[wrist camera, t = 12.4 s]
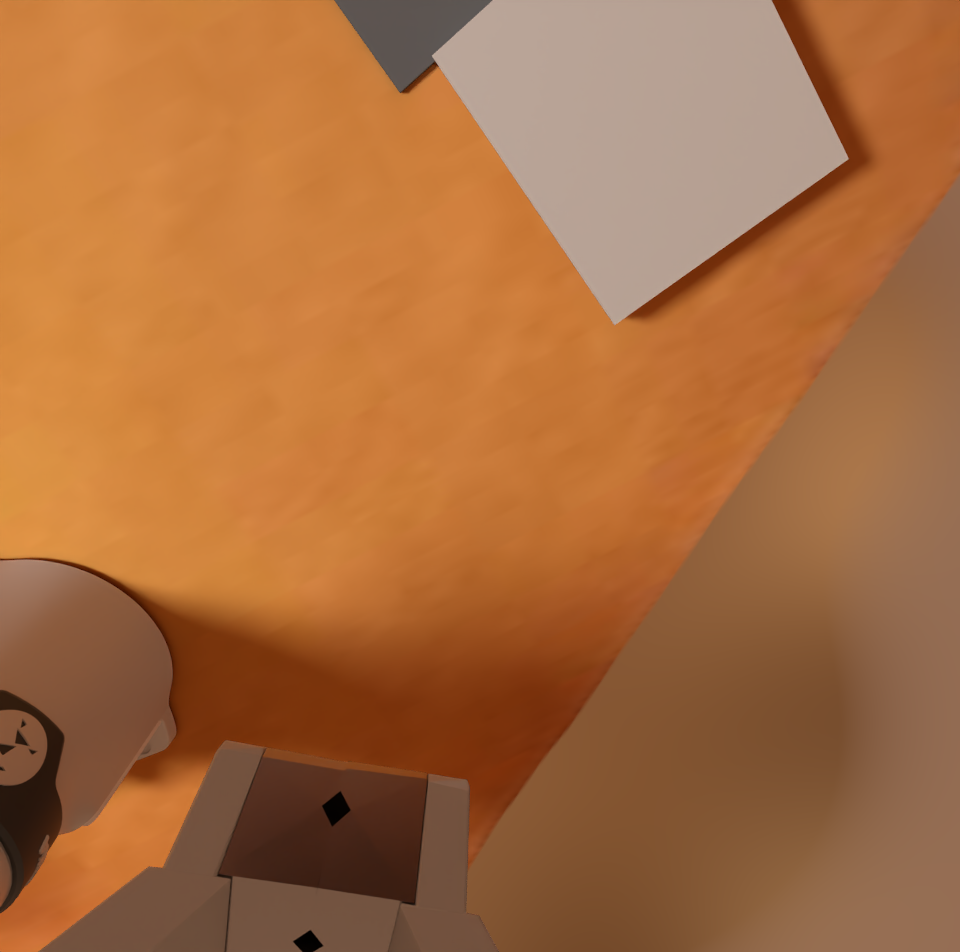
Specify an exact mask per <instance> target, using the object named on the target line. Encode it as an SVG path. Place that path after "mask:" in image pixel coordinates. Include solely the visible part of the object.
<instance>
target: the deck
mask: <svg viewBox="0 0 960 952" xmlns="http://www.w3.org/2000/svg"><path fill="white" fill-rule="evenodd" d="M432 57H433V58H434V60H435V62H436V63H437V65H438V66H439V68H440V69H441V71H442V72H443V73H444V75H445V76H446V78H447V79H448V81H449V82H450V84H451V85H452V87H453V88H454V90H455V91H456V93H457V94H458V96H459V97H460V99H461V100H462V101H463V103H464V104H465V106H466V107H467V109H468V110H469V112H470V113H471V115H472V116H473V118H474V119H475V121H476V122H477V124H478V125H479V127H480V128H481V129H482V131H483V132H484V134H485V135H486V137H487V138H488V140H489V141H490V143H491V144H492V146H493V147H494V149H495V150H496V152H497V153H498V154H499V156H500V157H501V159H502V160H503V162H504V163H505V165H506V166H507V168H508V169H509V171H510V172H511V174H512V175H513V177H514V178H515V180H516V181H517V182H518V184H519V185H520V187H521V188H522V190H523V191H524V193H525V194H526V196H527V197H528V199H529V200H530V202H531V203H532V205H533V206H534V208H535V209H536V210H537V212H538V213H539V215H540V216H541V218H542V219H543V221H544V222H545V224H546V225H547V227H548V228H549V230H550V231H551V233H552V234H553V236H554V237H555V238H556V240H557V241H558V243H559V244H560V246H561V247H562V249H563V250H564V252H565V253H566V255H567V256H568V258H569V259H570V261H571V262H572V264H573V265H574V266H575V268H576V269H577V271H578V272H579V274H580V275H581V277H582V278H583V280H584V281H585V283H586V284H587V286H588V287H589V289H590V290H591V291H592V293H593V294H594V296H595V297H596V299H597V300H598V302H599V303H600V305H601V306H602V308H603V309H604V311H605V312H606V314H607V315H608V317H609V318H610V319H611V321H612V322H613V324H614V325H615V324H617V323H618V322H620V321H621V320H622V319H624V318H625V317H627V316H628V315H630V314H631V313H632V312H634V311H635V310H637V309H638V308H639V307H641V306H642V305H644V304H645V303H646V302H648V301H649V300H651V299H652V298H653V297H655V296H656V295H658V294H659V293H661V292H662V291H663V290H665V289H666V288H668V287H669V286H670V285H672V284H673V283H675V282H676V281H677V280H679V279H680V278H682V277H683V276H685V275H686V274H687V273H689V272H690V271H692V270H693V269H694V268H696V267H697V266H699V265H700V264H701V263H703V262H704V261H706V260H707V259H708V258H710V257H711V256H713V255H714V254H716V253H717V252H718V251H720V250H721V249H723V248H724V247H725V246H727V245H728V244H730V243H731V242H732V241H734V240H735V239H737V238H738V237H740V236H741V235H742V234H744V233H745V232H747V231H748V230H749V229H751V228H752V227H754V226H755V225H756V224H758V223H759V222H761V221H762V220H763V219H765V218H766V217H768V216H769V215H771V214H772V213H773V212H775V211H776V210H778V209H779V208H780V207H782V206H783V205H785V204H786V203H787V202H789V201H790V200H792V199H793V198H794V197H796V196H797V195H799V194H800V193H802V192H803V191H804V190H806V189H807V188H809V187H810V186H811V185H813V184H814V183H816V182H817V181H818V180H820V179H821V178H823V177H824V176H826V175H827V174H828V173H830V172H831V171H833V170H834V169H835V168H837V167H838V166H840V165H841V164H842V163H844V162H845V161H847V160H848V159H849V158H848V156H847V154H846V152H845V150H844V148H843V146H842V144H841V142H840V140H839V138H838V136H837V133H836V131H835V129H834V127H833V125H832V123H831V121H830V119H829V117H828V115H827V113H826V111H825V109H824V107H823V105H822V103H821V101H820V99H819V97H818V94H817V92H816V90H815V88H814V86H813V84H812V82H811V80H810V78H809V76H808V74H807V72H806V70H805V68H804V66H803V64H802V62H801V60H800V58H799V55H798V53H797V51H796V49H795V47H794V45H793V43H792V41H791V39H790V37H789V35H788V33H787V31H786V29H785V27H784V25H783V23H782V21H781V19H780V16H779V14H778V12H777V10H776V8H775V6H774V4H773V2H772V0H493V1H491V2H490V3H489V4H488V5H487V6H486V7H485V8H484V9H483V10H482V11H480V12H479V13H478V14H477V15H476V16H475V17H474V18H473V19H472V20H471V21H469V22H468V23H467V24H466V25H465V26H464V27H463V28H462V29H461V30H460V31H459V32H457V33H456V34H455V35H454V36H453V37H452V38H451V39H450V40H449V41H448V42H446V43H445V44H444V45H443V46H442V47H441V48H440V49H439V50H438V51H437V52H435V53H434V54H433V55H432Z"/></svg>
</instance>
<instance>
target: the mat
mask: <svg viewBox="0 0 960 952" xmlns="http://www.w3.org/2000/svg"><path fill="white" fill-rule="evenodd" d="M491 1H493V0H335V2H336V3H337V5H338V6H339V7H340V9H341V10H342V12H343V13H344V14H345V16H346V17H347V19H348V20H349V21H350V23H351V24H352V26H353V27H354V29H355V30H356V31H357V33H358V34H359V36H360V37H361V38H362V40H363V41H364V43H365V44H366V45H367V47H368V48H369V50H370V51H371V52H372V54H373V55H374V57H375V58H376V60H377V61H378V62H379V64H380V65H381V67H382V68H383V69H384V71H385V72H386V74H387V75H388V76H389V78H390V79H391V81H392V82H393V84H394V85H395V86H396V88H397V89H398V91H399V92H400V93H401V92H402V91H403V90H405V89H406V88H407V87H408V86H409V85H410V84H411V83H412V82H413V81H414V80H416V79H417V78H418V77H419V76H420V75H421V74H422V73H423V72H424V71H425V70H427V69H428V68H429V67H430V66H431V65H432V64H433V63H434V62H435V60H434V58H433V57H432V55H433V54H434V53H435V52H437V51H438V50H439V49H440V48H441V47H442V46H443V45H444V44H445V43H446V42H448V41H449V40H450V39H451V38H452V37H453V36H454V35H455V34H456V33H457V32H459V31H460V30H461V29H462V28H463V27H464V26H465V25H466V24H467V23H468V22H469V21H471V20H472V19H473V18H474V17H475V16H476V15H477V14H478V13H479V12H480V11H482V10H483V9H484V8H485V7H486V6H487V5H488V4H489V3H490V2H491Z"/></svg>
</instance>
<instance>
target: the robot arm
mask: <svg viewBox="0 0 960 952" xmlns="http://www.w3.org/2000/svg"><path fill="white" fill-rule="evenodd" d="M172 678H173V668H172V660H171V656H170V652H169V649H168V646H167V644H166V642H165V639H164V637H163V635H162V634H161V632H160V630H159V629H158V627H157V626H156V624H155V623H154V622H153V620H152V619H151V618H150V616H149V615H148V614H147V613H146V612H145V611H144V610H143V609H142V608H141V607H140V606H139V605H138V604H137V603H136V602H135V601H134V600H133V599H131V598H130V597H129V596H128V595H126V594H125V593H124V592H122V591H121V590H120V589H118V588H116V587H115V586H113V585H112V584H110V583H108V582H107V581H105V580H103V579H101V578H99V577H97V576H95V575H93V574H90V573H88V572H86V571H83V570H80V569H78V568H74V567H71V566H68V565H64V564H60V563H55V562H50V561H42V560H4V561H3V560H0V913H2V912H3V911H4V910H6V909H7V908H8V907H9V906H10V905H11V904H12V903H13V902H14V901H15V899H16V898H17V897H18V895H19V894H20V892H21V891H22V889H23V888H24V887H25V886H26V885H27V884H28V883H29V882H30V881H31V880H32V879H33V877H34V876H35V874H36V873H37V871H38V870H39V868H40V867H41V865H42V863H43V862H44V860H45V858H46V855H47V852H48V850H49V849H50V847H51V846H52V844H53V843H54V841H55V839H56V838H57V836H58V835H61V834H65V833H69V832H72V831H74V830H76V829H78V828H79V827H81V826H88V825H90V824H91V823H92V822H93V821H94V820H95V819H96V818H97V817H98V816H99V815H100V813H101V812H102V810H103V809H104V807H105V806H106V804H107V803H108V801H109V800H110V798H111V797H112V796H113V794H114V793H115V791H116V790H117V788H118V787H119V785H120V784H121V782H122V781H123V779H124V778H125V776H126V775H127V773H128V772H129V770H130V769H131V767H132V766H133V764H134V763H135V761H137V760H140V759H142V758H145V757H147V756H150V755H153V754H155V753H158V752H160V751H163V750H165V749H166V748H167V747H168V746H169V744H170V743H171V742H172V740H173V739H174V737H175V736H176V725H175V721H174V718H173V715H172V712H171V710H170V707H169V695H170V690H171V685H172ZM469 804H470V786H469V783H468V781H467V780H465V779H459V778H453V777H447V776H440V775H434V774H428V775H427V774H426V772H419V771H413V770H406V769H399V768H393V767H386V766H379V765H372V764H366V763H359V762H352V761H348V762H344V761H338V760H333V759H328V758H323V757H317V756H312V755H307V754H302V753H296V752H291V751H286V750H281V749H275V748H270V747H263V746H257V745H251V744H246V743H240V742H235V741H229V740H225V741H224V742H223V743H222V745H221V746H220V747H219V749H218V750H217V751H216V753H215V755H214V757H213V760H212V762H211V764H210V766H209V768H208V771H207V773H206V775H205V777H204V779H203V781H202V784H201V786H200V788H199V790H198V792H197V794H196V797H195V799H194V801H193V803H192V805H191V807H190V810H189V812H188V814H187V816H186V818H185V820H184V823H183V825H182V827H181V829H180V831H179V834H178V836H177V838H176V840H175V842H174V844H173V847H172V849H171V851H170V853H169V855H168V857H167V860H166V862H165V864H164V866H163V868H158V867H150V866H149V867H147V868H146V869H145V870H143V871H142V872H141V873H140V874H138V875H137V876H136V877H134V878H133V879H132V880H130V881H129V882H128V883H127V884H125V885H124V886H123V887H121V888H120V889H119V890H118V891H116V892H115V893H114V894H112V895H111V896H110V897H108V898H107V899H106V900H105V901H103V902H102V903H101V904H99V905H98V906H97V907H96V908H94V909H93V910H92V911H90V912H89V913H88V914H86V915H85V916H84V917H83V918H81V919H80V920H79V921H77V922H76V923H75V924H74V925H72V926H71V927H70V928H68V929H67V930H66V931H64V932H63V933H62V934H61V935H59V936H58V937H57V938H55V939H54V940H53V941H51V942H50V943H49V944H48V945H46V946H45V947H44V948H42V949H41V950H40V951H39V952H499V951H498V950H497V948H496V946H495V944H494V942H493V940H492V938H491V937H490V935H489V933H488V931H487V929H486V927H485V925H484V924H483V922H482V920H481V918H480V916H479V915H475V914H470V913H466V901H467V869H468V836H469Z"/></svg>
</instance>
